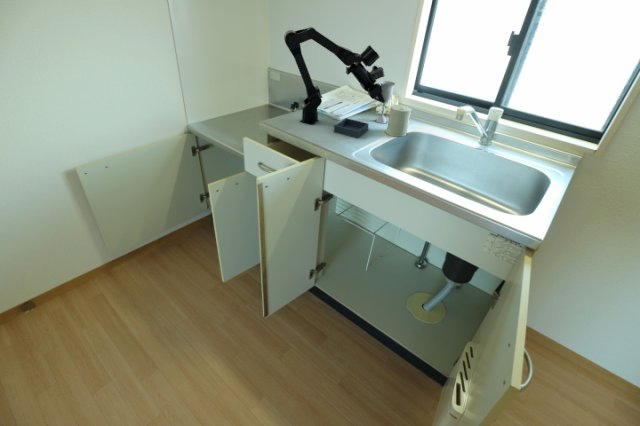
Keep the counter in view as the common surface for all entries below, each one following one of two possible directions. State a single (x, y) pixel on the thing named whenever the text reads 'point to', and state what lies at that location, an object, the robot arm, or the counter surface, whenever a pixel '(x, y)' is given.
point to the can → (398, 120)
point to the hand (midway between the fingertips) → (381, 99)
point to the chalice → (385, 97)
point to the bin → (351, 127)
